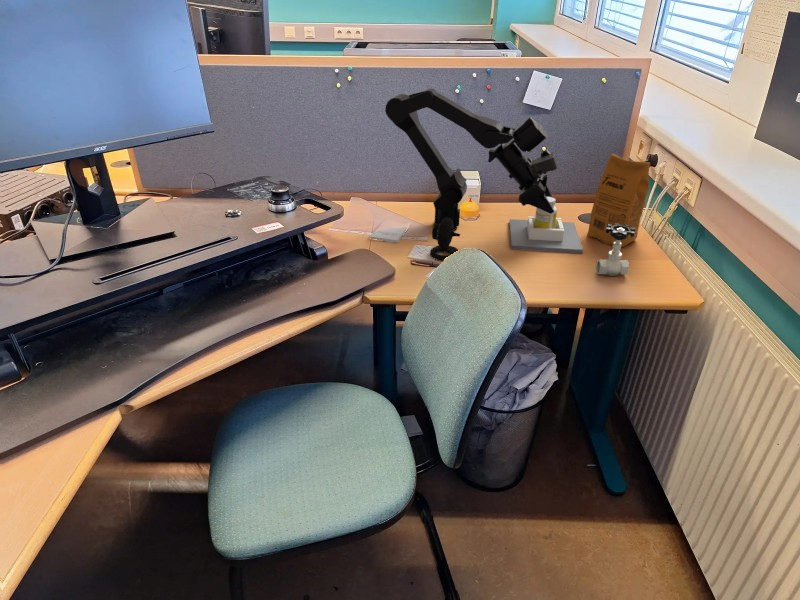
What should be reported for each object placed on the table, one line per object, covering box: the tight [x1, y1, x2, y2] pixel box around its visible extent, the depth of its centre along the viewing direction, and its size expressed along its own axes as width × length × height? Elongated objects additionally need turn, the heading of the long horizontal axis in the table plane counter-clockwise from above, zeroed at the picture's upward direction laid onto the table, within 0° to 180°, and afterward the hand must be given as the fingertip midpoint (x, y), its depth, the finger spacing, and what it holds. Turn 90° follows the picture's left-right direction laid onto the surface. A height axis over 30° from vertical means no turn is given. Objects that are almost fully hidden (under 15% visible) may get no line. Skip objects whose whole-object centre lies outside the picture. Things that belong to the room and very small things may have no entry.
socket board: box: [509, 215, 584, 254], centre depth 148 cm, size 18×18×4 cm
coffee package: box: [587, 153, 652, 248], centre depth 143 cm, size 10×12×22 cm
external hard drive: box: [368, 227, 407, 244], centre depth 152 cm, size 2×8×12 cm
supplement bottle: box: [534, 197, 558, 229], centre depth 146 cm, size 5×5×10 cm
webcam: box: [429, 218, 461, 262], centre depth 137 cm, size 8×8×10 cm
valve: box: [595, 223, 636, 277], centre depth 127 cm, size 7×7×12 cm
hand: (553, 208), depth 144 cm, fingers open, 6 cm apart
